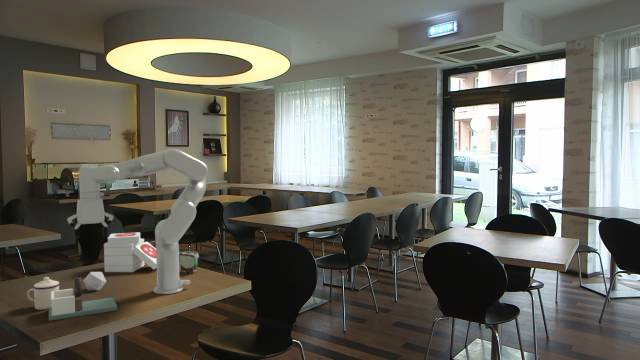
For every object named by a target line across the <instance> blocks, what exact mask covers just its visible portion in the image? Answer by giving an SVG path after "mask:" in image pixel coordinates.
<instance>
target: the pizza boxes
mask: <svg viewBox="0 0 640 360" xmlns="http://www.w3.org/2000/svg"><path fill="white" fill-rule="evenodd" d="M103 254H104V255H103V259H104V261H103V262H104V273H134V272H136V271H137V270H139V269H141V268H143V267H145V266H146V265H147V266H149V267H150V268H151V269H152V270H155V269H157V263H156V247H154V246H153V244H151V243H150V242H148V241H145V238H141V232H140V231H139V232H137V231H136V232H121V233H118V232H117V233H111V234H109V236H108V237H107V242H105V243H103ZM145 264H146V265H145ZM144 265H145V266H144Z"/></svg>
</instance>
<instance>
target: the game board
mask: <svg viewBox="0 0 640 360" xmlns="http://www.w3.org/2000/svg"><path fill="white" fill-rule="evenodd" d="M114 311H118V305H117V303H116V300H115V299H114V297H107V298H100V299H93V300H85V301H82V310H76V305H75V295H74V288H67V289H66V288H65V289H59V290H58V291H51V306H50V307H49V309H48V322H51V321H56V320H64V319H69V318H70V319H71V318H75V317H82V316H89V315H94V314H95V315H96V314H100V313H101V314H102V313H108V312H114Z"/></svg>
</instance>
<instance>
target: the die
mask: <svg viewBox="0 0 640 360" xmlns="http://www.w3.org/2000/svg"><path fill="white" fill-rule="evenodd" d="M82 281H83V284H84V286H85V287H86V290H87V291H100V290H101V289H102V288H103V286H105V284H106V283H107V279H106V278H105V276H104V273H103V272H102V271H90V272H89V273H88V274H87V276H85V278H84V279H83V280H82Z"/></svg>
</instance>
